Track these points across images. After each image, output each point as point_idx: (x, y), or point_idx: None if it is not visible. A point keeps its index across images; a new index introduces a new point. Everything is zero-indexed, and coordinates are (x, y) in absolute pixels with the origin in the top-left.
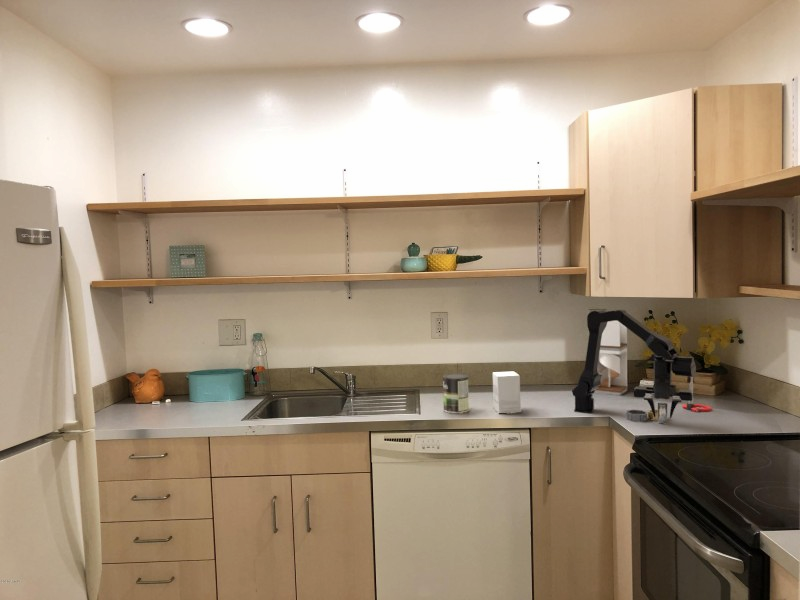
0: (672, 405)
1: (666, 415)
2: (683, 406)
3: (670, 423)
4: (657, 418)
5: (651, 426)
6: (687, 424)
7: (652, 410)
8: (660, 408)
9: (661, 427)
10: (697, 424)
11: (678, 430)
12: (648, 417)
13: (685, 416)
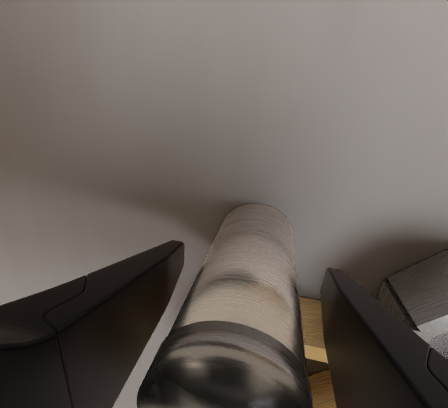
0: (47, 319)
1: (209, 253)
2: None
3: (197, 231)
4: None
5: (387, 91)
6: (86, 224)
7: (388, 314)
8: (273, 311)
9: (284, 79)
10: (33, 234)
11: (133, 7)
12: None
13: None
